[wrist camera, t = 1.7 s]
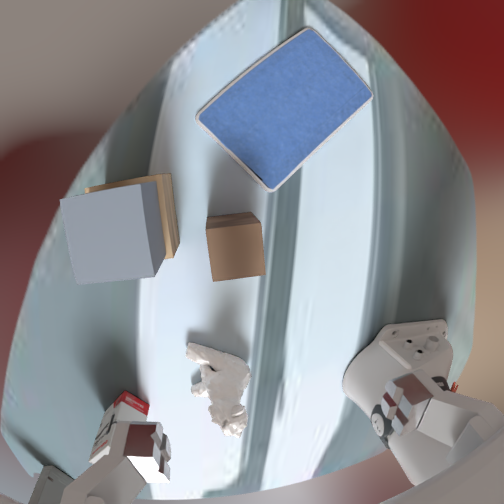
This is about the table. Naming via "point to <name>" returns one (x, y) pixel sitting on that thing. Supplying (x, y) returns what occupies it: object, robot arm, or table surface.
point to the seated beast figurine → (222, 386)
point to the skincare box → (50, 486)
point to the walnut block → (235, 246)
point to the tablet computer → (285, 108)
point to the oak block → (164, 204)
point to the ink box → (120, 410)
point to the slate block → (114, 233)
